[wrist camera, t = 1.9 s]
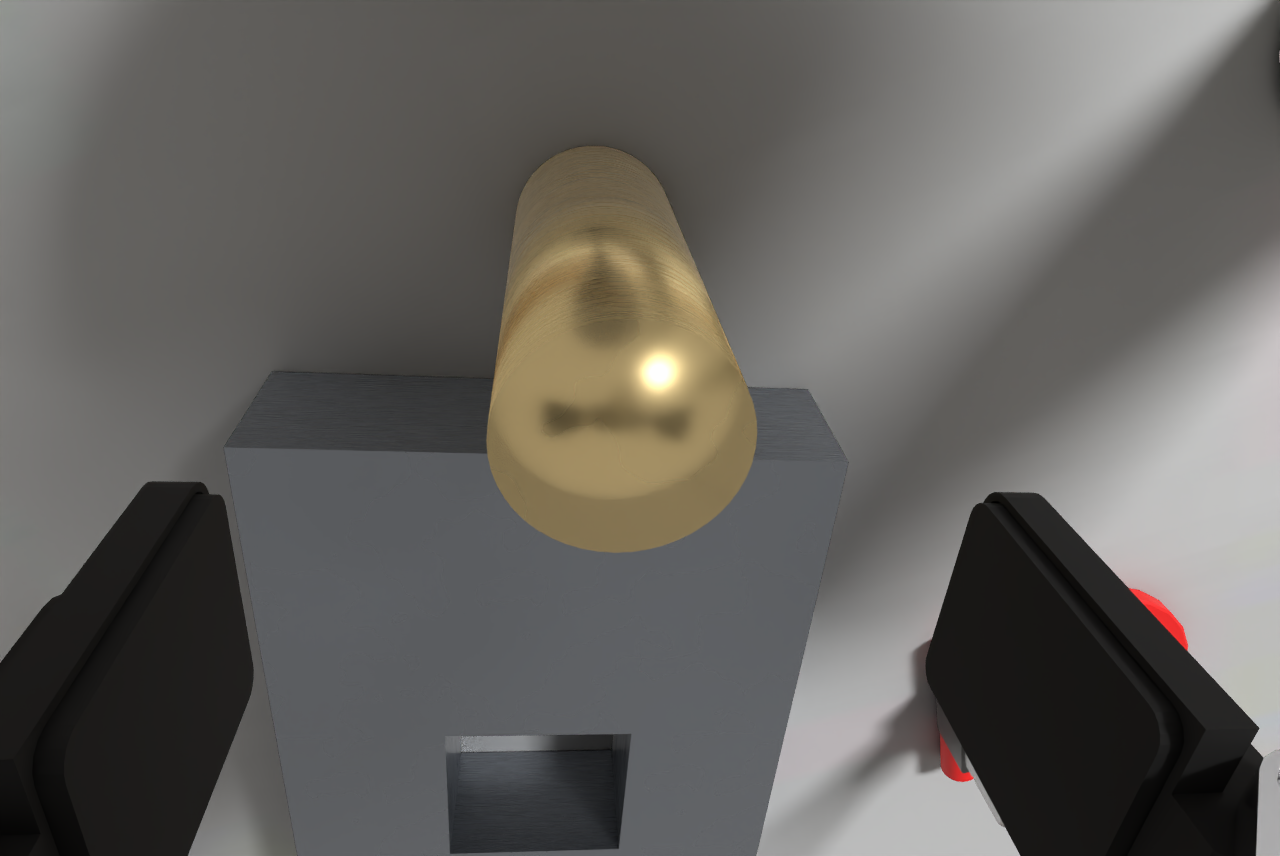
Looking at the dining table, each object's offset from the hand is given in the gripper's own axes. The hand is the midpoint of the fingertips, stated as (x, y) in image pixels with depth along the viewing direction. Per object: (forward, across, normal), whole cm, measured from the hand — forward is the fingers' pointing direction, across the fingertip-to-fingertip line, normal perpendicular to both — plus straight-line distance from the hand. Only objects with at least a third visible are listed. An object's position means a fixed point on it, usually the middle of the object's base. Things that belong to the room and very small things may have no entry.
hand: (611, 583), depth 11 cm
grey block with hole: (+14, 0, +14) cm, 20 cm away
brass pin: (+13, 0, -1) cm, 13 cm away
